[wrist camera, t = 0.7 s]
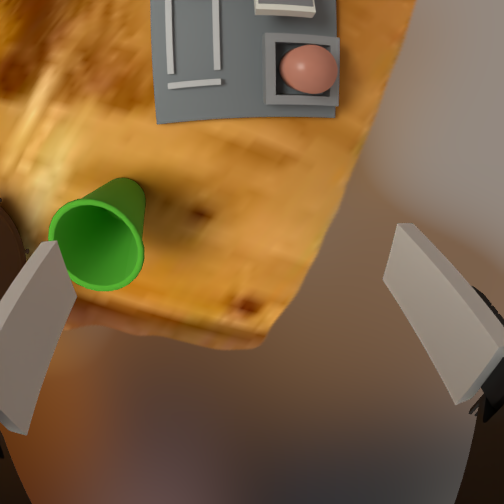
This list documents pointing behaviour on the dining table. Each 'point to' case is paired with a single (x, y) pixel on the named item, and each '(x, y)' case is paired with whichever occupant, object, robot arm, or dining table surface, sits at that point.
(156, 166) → the dining table surface
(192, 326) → the dining table surface
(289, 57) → the round button
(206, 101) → the panel
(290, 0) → the paddle
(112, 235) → the cup
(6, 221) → the alarm clock
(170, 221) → the dining table surface
